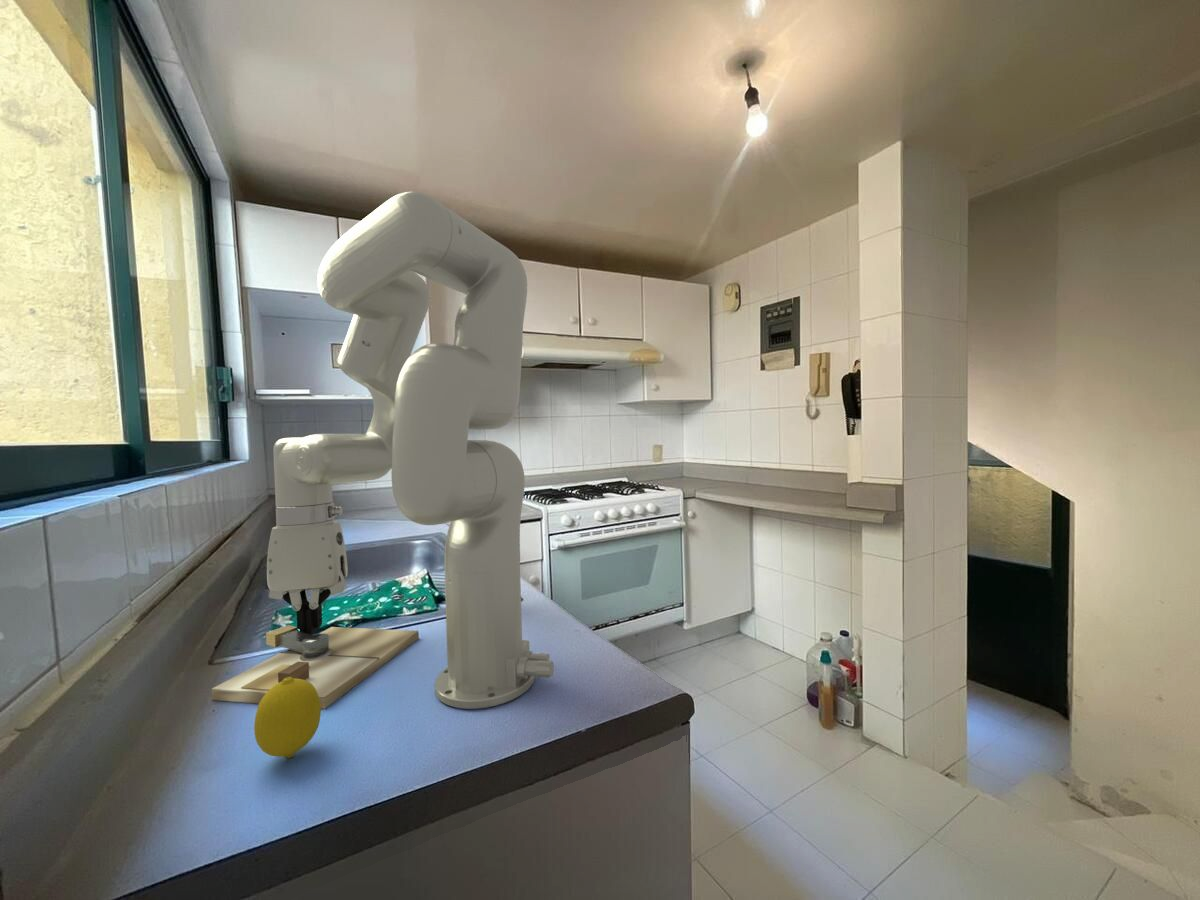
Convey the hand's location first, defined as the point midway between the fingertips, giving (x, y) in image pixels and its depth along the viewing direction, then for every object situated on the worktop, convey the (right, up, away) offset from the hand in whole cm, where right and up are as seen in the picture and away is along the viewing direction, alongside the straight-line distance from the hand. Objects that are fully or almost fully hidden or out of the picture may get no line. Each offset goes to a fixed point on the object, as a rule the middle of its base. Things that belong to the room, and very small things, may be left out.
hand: (310, 632), depth 71 cm
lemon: (+14, -3, -25) cm, 29 cm away
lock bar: (+1, -1, -4) cm, 4 cm away
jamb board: (+6, -2, -6) cm, 9 cm away
